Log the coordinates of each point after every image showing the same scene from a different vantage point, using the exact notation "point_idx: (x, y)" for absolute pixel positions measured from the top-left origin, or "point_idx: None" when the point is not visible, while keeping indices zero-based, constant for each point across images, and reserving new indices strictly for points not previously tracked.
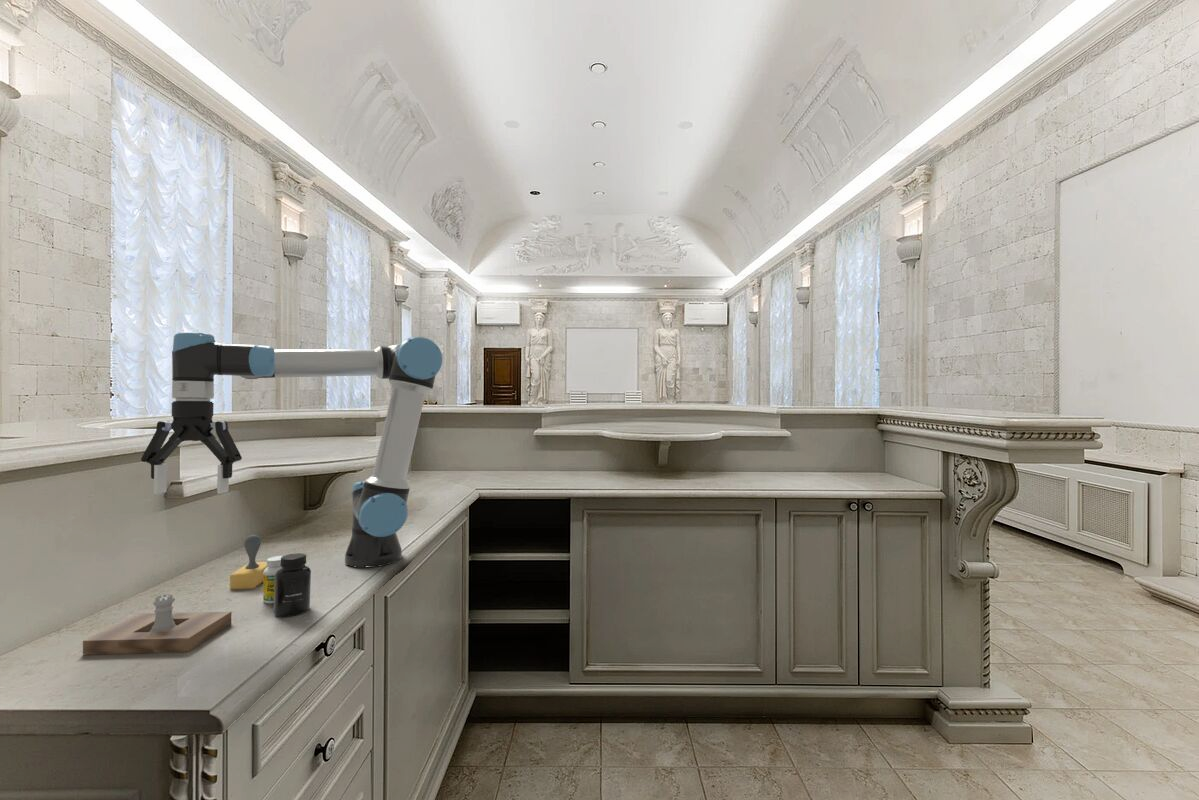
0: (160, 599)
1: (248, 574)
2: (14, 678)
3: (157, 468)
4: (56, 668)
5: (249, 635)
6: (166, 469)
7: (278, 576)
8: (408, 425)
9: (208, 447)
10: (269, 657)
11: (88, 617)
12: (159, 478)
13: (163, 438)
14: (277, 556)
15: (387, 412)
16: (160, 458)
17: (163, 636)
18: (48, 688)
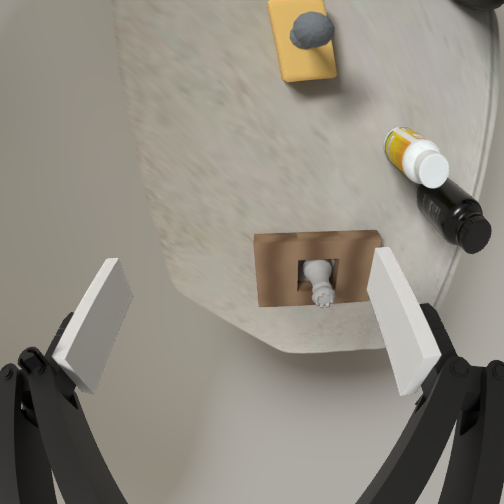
0: (323, 303)
1: (323, 78)
2: (240, 326)
3: (97, 381)
4: (260, 315)
5: (408, 258)
6: (78, 337)
7: (449, 242)
8: None
9: (363, 497)
10: (435, 295)
11: (152, 208)
12: (109, 336)
13: (31, 498)
14: (431, 158)
15: None
16: (83, 418)
17: (339, 298)
18: (287, 337)
